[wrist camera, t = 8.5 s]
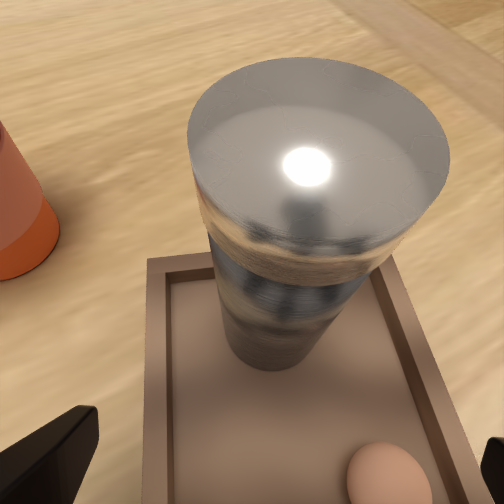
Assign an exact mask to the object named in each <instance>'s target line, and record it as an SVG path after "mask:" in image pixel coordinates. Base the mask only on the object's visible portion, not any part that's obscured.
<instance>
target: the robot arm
mask: <svg viewBox="0 0 504 504" xmlns="http://www.w3.org/2000/svg"><path fill="white" fill-rule="evenodd" d="M98 441H99V424H98V411H97V408H96V407H95V406H87V405H78V406H75V407H74V408H72V409H70V410H69V411H67V412H65V413H64V414H62V415H61V416H59V417H57V418H56V419H54V420H52V421H51V422H49V423H47V424H46V425H44V426H43V427H41V428H39V429H38V430H36V431H34V432H33V433H31V434H29V435H28V436H26V437H25V438H23V439H21V440H20V441H18V442H16V443H15V444H13V445H11V446H10V447H8V448H7V449H5V450H3V451H2V452H0V504H73V502H74V500H75V497H76V495H77V493H78V490H79V488H80V485H81V483H82V481H83V478H84V476H85V474H86V471H87V469H88V467H89V464H90V462H91V459H92V457H93V455H94V452H95V450H96V448H97V445H98ZM480 469H481V474H482V477H483V480H484V482H485V484H486V486H487V488H488V490H489V492H490V494H491V496H492V498H493V501H494V503H495V504H504V438H502V437H491V438H490V439H489V440H488V442H487V445H486V448H485V451H484V455H483V458H482V461H481V465H480Z"/></svg>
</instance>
